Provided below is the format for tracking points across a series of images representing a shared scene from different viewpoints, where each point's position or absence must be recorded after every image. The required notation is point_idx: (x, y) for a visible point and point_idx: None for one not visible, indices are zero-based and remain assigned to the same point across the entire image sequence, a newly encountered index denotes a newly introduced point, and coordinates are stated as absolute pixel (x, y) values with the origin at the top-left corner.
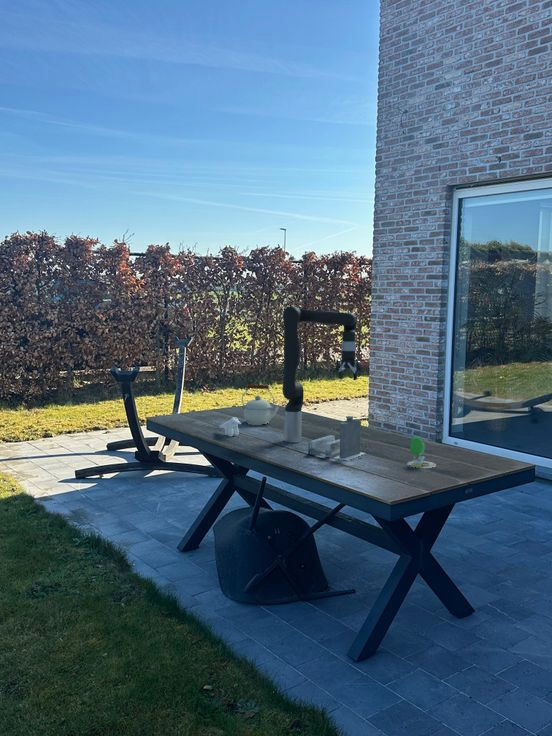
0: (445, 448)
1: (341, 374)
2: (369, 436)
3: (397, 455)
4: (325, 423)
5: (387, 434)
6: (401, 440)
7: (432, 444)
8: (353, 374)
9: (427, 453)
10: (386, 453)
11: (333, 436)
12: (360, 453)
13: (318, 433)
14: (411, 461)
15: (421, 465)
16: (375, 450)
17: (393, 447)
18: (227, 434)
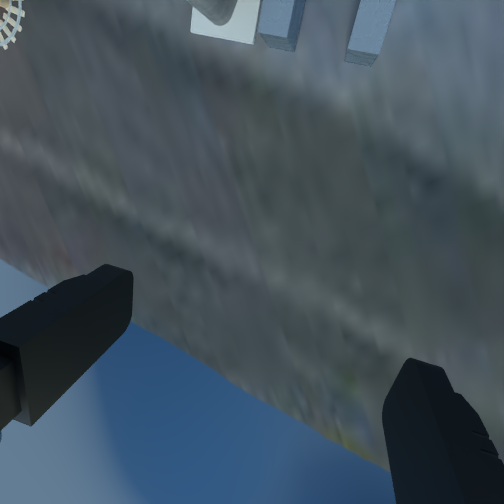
0: (34, 250)
1: (426, 452)
2: (275, 324)
3: (94, 85)
4: None
5: (231, 365)
6: (167, 303)
7: None
8: (39, 325)
9: (40, 165)
10: (135, 95)
11: (351, 34)
12: None
13: (486, 314)
14: (21, 15)
15: None
16: (184, 123)
17: (151, 199)
18: None
